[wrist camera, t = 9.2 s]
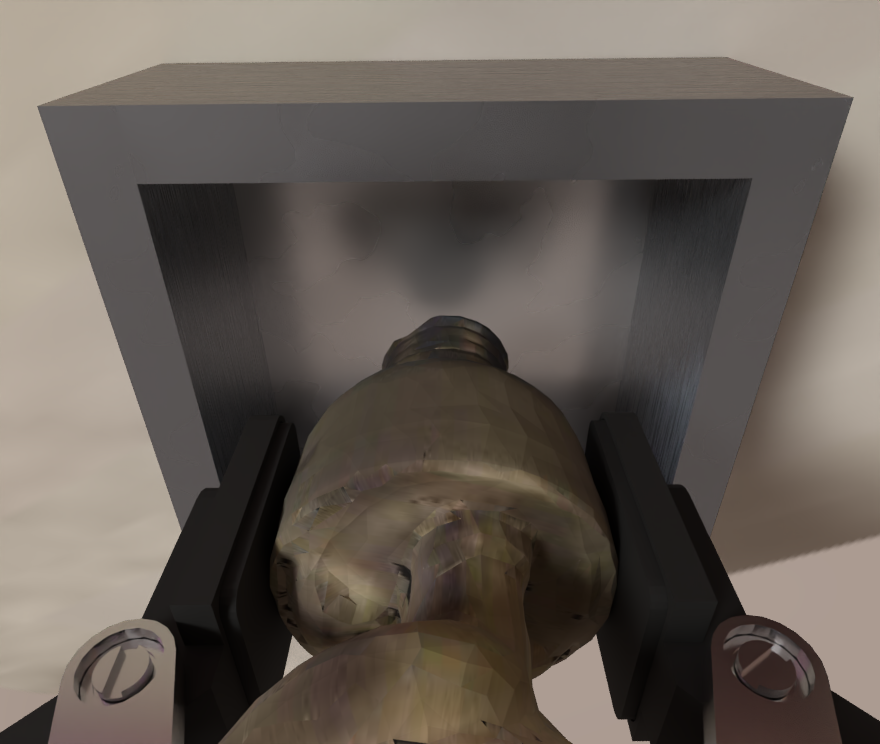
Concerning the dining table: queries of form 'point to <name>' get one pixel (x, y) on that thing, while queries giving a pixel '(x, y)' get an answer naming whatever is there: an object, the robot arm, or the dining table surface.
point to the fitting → (447, 236)
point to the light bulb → (434, 555)
